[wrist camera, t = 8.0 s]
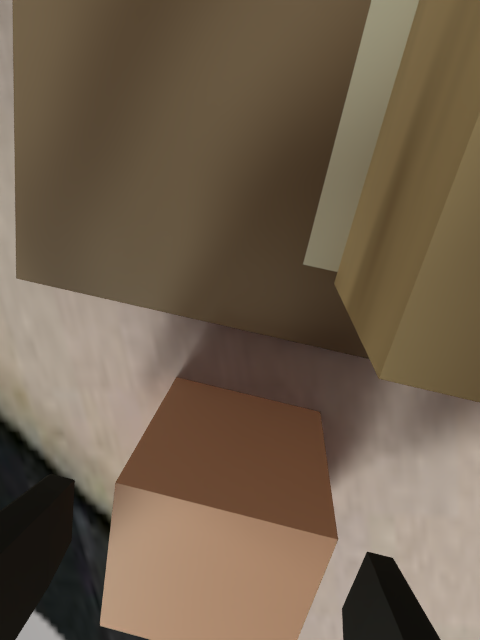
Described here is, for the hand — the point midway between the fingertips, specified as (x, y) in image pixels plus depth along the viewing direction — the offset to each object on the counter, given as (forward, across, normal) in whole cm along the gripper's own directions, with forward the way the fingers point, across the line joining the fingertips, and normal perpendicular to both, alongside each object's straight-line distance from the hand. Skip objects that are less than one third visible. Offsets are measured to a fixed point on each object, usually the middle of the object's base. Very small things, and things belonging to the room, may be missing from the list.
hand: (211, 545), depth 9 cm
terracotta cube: (+3, 0, 0) cm, 4 cm away
